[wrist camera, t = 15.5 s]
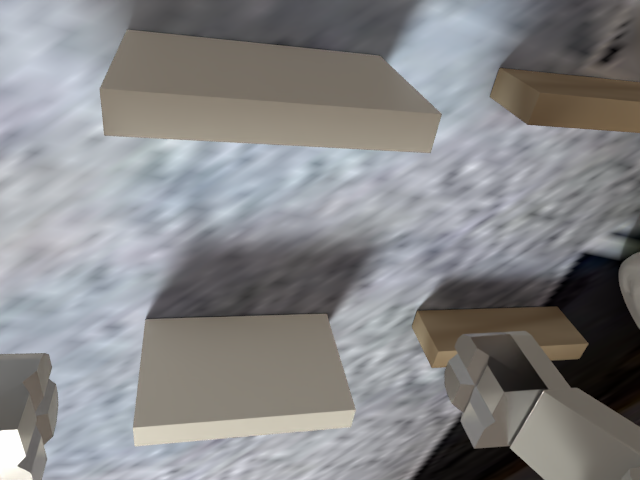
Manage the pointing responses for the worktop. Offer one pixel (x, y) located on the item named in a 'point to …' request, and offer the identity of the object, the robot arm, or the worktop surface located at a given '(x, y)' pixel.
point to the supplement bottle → (631, 285)
